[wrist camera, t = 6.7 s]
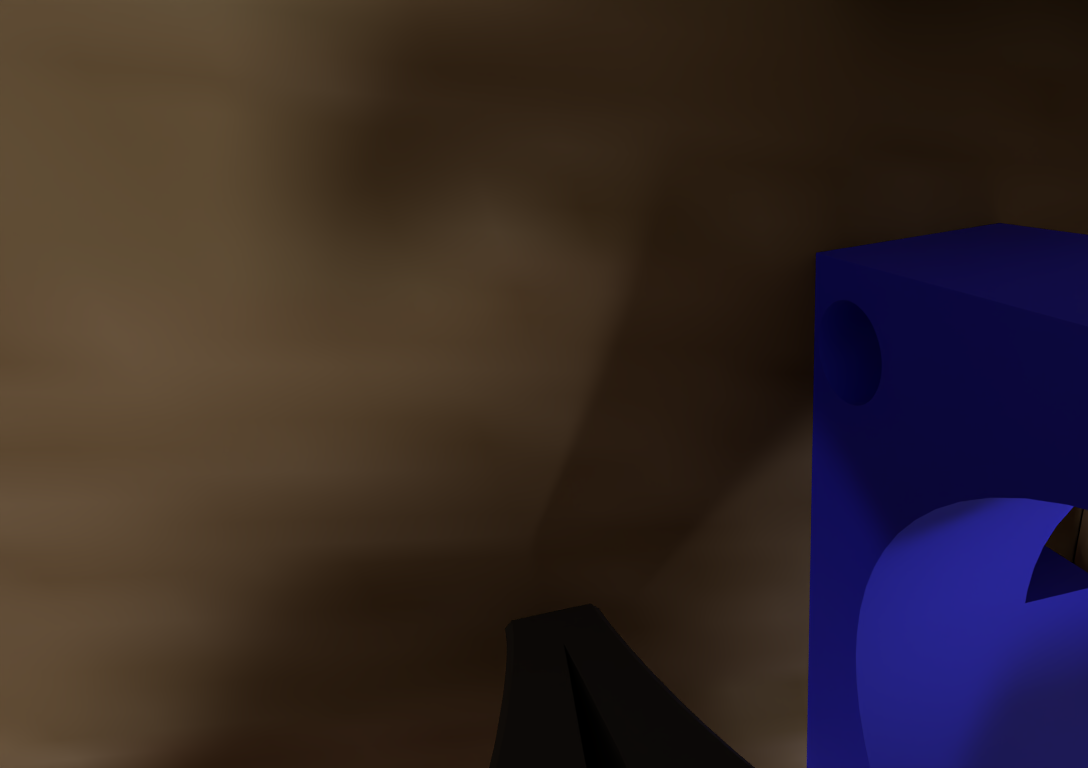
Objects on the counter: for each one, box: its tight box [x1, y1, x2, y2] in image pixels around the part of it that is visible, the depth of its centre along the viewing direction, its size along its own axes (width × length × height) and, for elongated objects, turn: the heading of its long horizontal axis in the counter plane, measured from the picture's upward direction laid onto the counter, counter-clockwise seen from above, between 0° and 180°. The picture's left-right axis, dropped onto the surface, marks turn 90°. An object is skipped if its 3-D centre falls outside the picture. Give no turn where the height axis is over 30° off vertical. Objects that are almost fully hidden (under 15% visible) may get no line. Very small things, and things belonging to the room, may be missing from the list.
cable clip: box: [807, 223, 1088, 768], centre depth 10 cm, size 12×4×6 cm, turn 7°
